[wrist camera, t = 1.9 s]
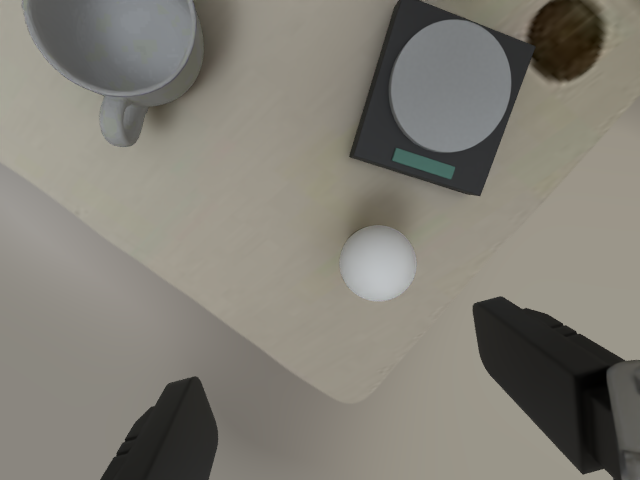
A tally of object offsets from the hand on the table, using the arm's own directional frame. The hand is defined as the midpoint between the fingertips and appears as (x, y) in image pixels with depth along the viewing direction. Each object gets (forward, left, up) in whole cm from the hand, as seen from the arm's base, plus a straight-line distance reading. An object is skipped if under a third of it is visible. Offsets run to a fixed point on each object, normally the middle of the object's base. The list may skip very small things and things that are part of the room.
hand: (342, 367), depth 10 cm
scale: (+9, +15, -26) cm, 31 cm away
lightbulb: (+6, 0, -26) cm, 27 cm away
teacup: (-17, +10, -26) cm, 33 cm away
